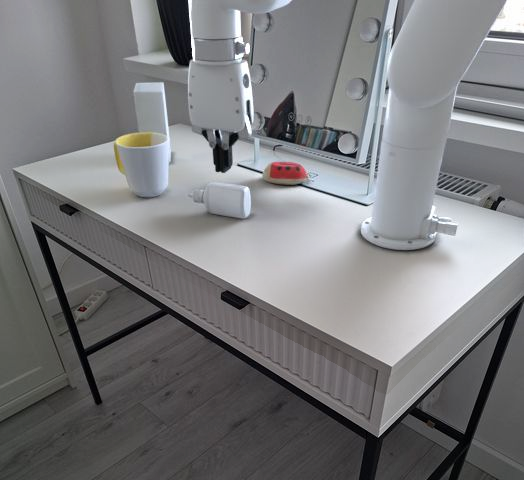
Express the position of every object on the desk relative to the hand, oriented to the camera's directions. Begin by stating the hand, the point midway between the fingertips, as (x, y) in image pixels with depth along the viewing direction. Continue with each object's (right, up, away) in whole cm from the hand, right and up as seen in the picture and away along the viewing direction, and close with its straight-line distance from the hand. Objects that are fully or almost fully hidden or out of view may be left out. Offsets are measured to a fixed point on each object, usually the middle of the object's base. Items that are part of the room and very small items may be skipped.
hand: (223, 169), depth 89 cm
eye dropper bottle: (+4, -5, +2) cm, 7 cm away
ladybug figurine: (+12, +4, +18) cm, 22 cm away
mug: (-17, +1, +15) cm, 23 cm away
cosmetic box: (-18, +13, +31) cm, 38 cm away
